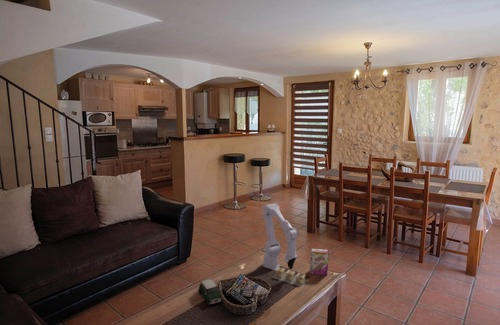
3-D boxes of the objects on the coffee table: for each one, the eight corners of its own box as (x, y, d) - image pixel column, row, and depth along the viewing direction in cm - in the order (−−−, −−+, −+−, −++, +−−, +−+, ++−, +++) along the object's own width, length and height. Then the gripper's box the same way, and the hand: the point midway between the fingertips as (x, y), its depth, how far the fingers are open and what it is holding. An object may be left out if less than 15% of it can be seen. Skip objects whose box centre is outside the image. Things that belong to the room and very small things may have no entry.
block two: (295, 282, 194) (296, 275, 194) (298, 279, 198) (298, 272, 197) (302, 284, 192) (302, 277, 191) (305, 281, 196) (305, 274, 195)
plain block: (285, 279, 198) (285, 272, 197) (288, 276, 202) (288, 269, 201) (292, 281, 196) (292, 274, 195) (294, 278, 199) (295, 271, 199)
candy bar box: (310, 275, 205) (311, 251, 202) (309, 271, 210) (310, 248, 207) (327, 276, 204) (328, 252, 201) (326, 272, 209) (327, 249, 206)
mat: (271, 278, 200) (271, 277, 200) (278, 271, 208) (278, 271, 208) (302, 288, 189) (302, 287, 189) (308, 280, 198) (308, 279, 198)
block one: (275, 276, 201) (275, 269, 201) (278, 273, 205) (278, 266, 204) (281, 278, 199) (282, 271, 198) (284, 275, 203) (285, 268, 202)
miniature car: (209, 307, 169) (208, 294, 168) (197, 291, 185) (197, 278, 183) (224, 303, 174) (224, 289, 172) (211, 287, 189) (211, 275, 188)
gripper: (292, 254, 187) (291, 275, 189) (301, 245, 200) (300, 265, 202) (281, 251, 191) (281, 272, 193) (291, 243, 203) (290, 262, 205)
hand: (290, 268), depth 198 cm, fingers closed
